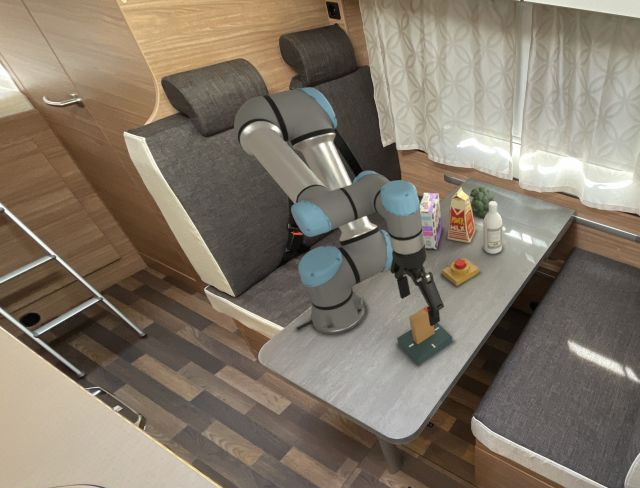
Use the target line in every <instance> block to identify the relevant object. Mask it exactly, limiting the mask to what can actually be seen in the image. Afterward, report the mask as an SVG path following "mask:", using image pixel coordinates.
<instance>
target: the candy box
mask: <svg viewBox="0 0 640 488" xmlns="http://www.w3.org/2000/svg"><path fill="white" fill-rule="evenodd" d="M420 213H421V220H422V228H423V236H424V244H425V248H426V250H438V246H439V242H440V239H441V236H442V235H441V234H442V232H443V223H442V214H441V213H442V212H441V203H440V193H438V192H423V195H422V197H421V200H420Z"/></svg>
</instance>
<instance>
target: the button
mask: <svg viewBox="0 0 640 488" xmlns="http://www.w3.org/2000/svg"><path fill="white" fill-rule="evenodd" d="M455 260H456V261H455ZM455 260H454V261H455V268H457V269H463V268H465V266H466V265H465V260H463V258H457V259H455Z"/></svg>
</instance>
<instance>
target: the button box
mask: <svg viewBox="0 0 640 488" xmlns="http://www.w3.org/2000/svg"><path fill="white" fill-rule="evenodd" d="M462 259H463V260H465V265H466V266H465V268H463V269H457V268H455V261H456V260H457V259H455V260H452V262H451V263H450V265H448V266H447V267H445V268H443V269H441V273H442V275H443V277H445V278H446V279H447V280H448V281H450V282H451V283H452V284H454V285H455V286H456V287H458V286H459V285H461V284H463V283H465V282H466V281H468V280H470V279H472V278H473V277H475V276H477V275H478V274H480V267H478V266H477V265H475V264H474V263H473V262H471V261H470V260H469V259H467V258H465V257H463V258H462Z"/></svg>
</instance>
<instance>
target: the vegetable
mask: <svg viewBox="0 0 640 488" xmlns="http://www.w3.org/2000/svg"><path fill="white" fill-rule="evenodd" d="M470 191H471V192H470V195H469V197H471V198H472V199H471V200H470V204H471V208H472V210H475V211H477V216H478V217H480V218H483V219H484V218H485V216H486V214H487V213H488V212H489V202H491V201H495V197H494V194H493V193H492V191H490V189H489V190H488V189H487V188H486V187H484V186H480V187H478V188H477V187H476V188H472V190H470Z"/></svg>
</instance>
